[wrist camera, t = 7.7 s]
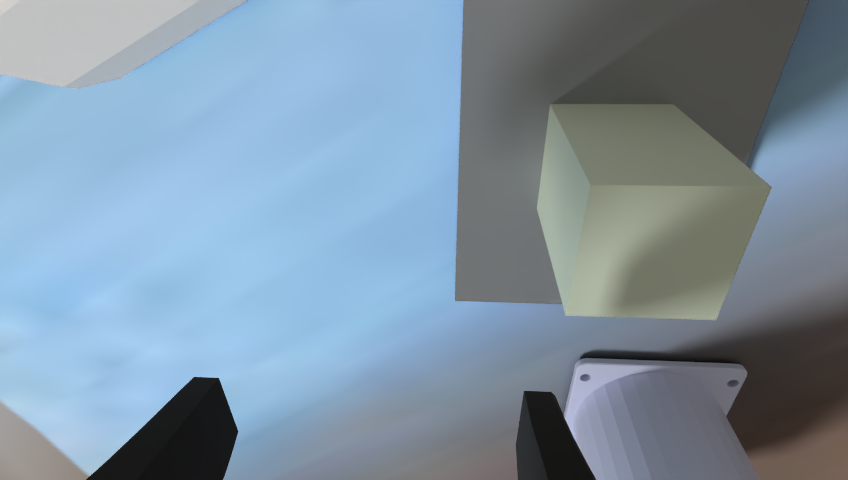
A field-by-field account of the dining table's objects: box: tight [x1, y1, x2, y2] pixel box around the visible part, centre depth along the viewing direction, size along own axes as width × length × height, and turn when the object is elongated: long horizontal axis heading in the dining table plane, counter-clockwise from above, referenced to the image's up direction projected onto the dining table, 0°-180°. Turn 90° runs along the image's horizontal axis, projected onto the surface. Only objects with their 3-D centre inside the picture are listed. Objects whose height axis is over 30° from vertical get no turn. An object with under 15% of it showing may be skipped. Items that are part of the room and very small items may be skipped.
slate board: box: [455, 0, 809, 304], centre depth 17 cm, size 14×10×1 cm
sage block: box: [537, 104, 772, 320], centre depth 15 cm, size 4×4×6 cm
